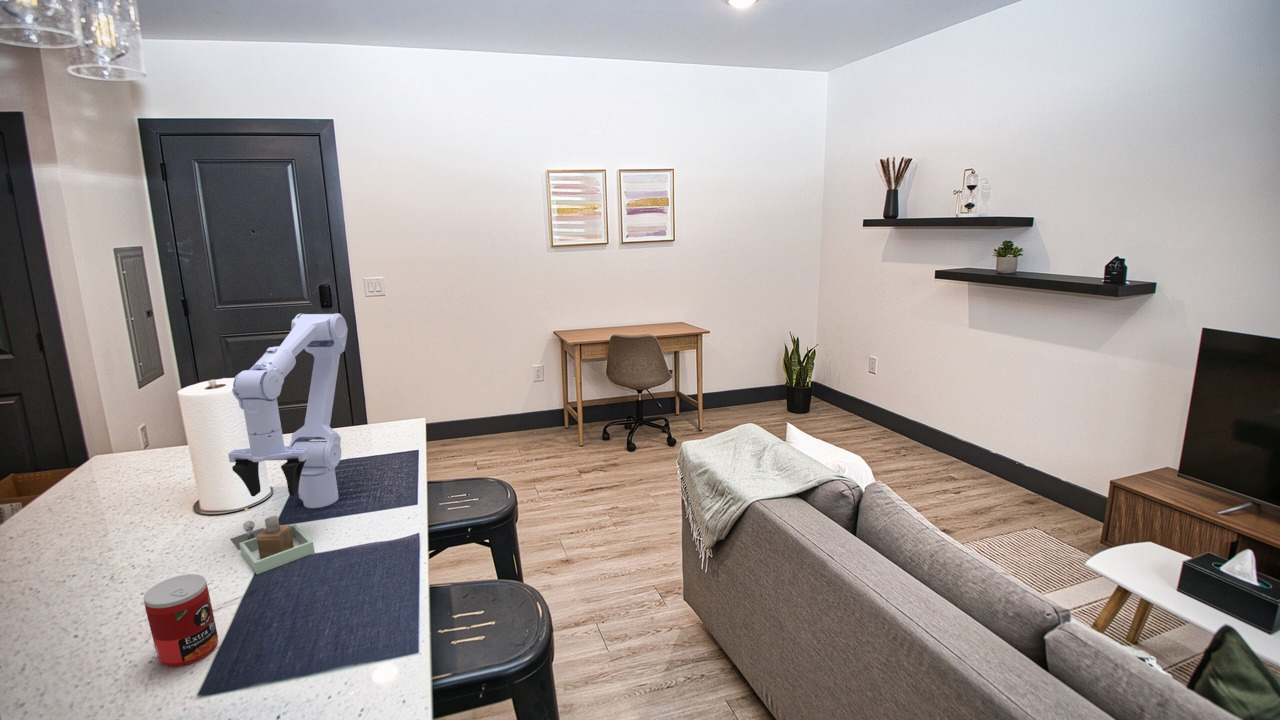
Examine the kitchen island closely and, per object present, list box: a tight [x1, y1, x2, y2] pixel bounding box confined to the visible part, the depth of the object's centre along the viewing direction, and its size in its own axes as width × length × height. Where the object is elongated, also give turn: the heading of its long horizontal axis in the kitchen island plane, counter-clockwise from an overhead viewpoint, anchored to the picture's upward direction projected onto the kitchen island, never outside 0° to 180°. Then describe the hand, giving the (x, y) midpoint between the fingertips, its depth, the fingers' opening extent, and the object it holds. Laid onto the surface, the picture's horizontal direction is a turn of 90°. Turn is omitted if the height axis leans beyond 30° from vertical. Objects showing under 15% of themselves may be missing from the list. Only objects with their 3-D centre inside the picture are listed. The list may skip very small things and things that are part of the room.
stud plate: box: [229, 520, 265, 551], centre depth 126 cm, size 6×6×5 cm
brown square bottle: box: [256, 515, 295, 560], centre depth 120 cm, size 4×4×8 cm
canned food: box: [143, 573, 219, 668], centre depth 96 cm, size 8×8×11 cm
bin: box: [239, 523, 315, 575], centre depth 121 cm, size 10×10×4 cm
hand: (275, 493), depth 126 cm, fingers open, 7 cm apart
